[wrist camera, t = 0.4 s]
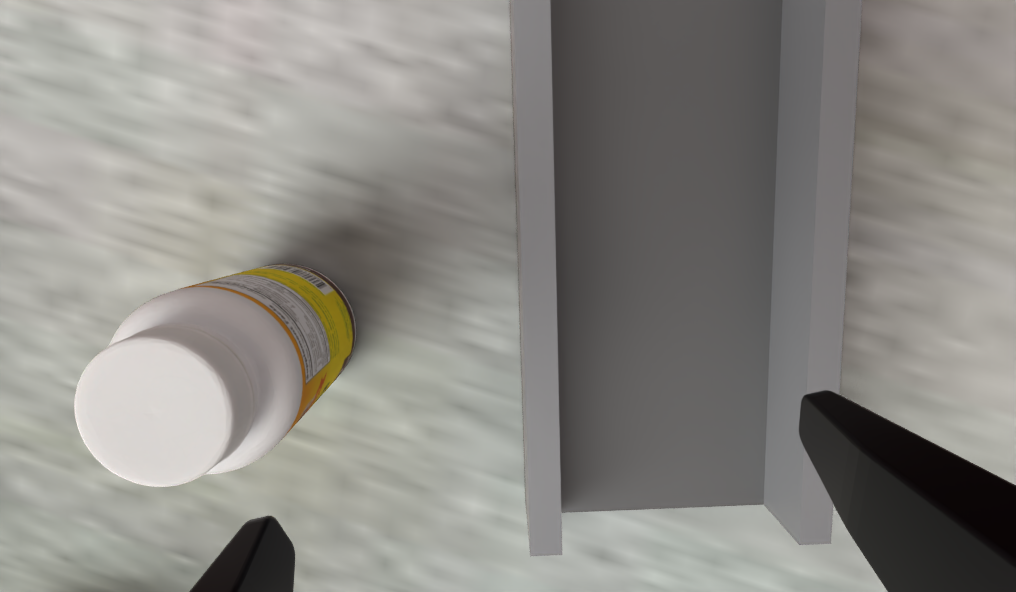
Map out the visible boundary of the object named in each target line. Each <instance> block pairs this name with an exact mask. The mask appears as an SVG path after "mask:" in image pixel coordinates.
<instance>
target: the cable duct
mask: <svg viewBox="0 0 1016 592" xmlns="http://www.w3.org/2000/svg"><path fill="white" fill-rule="evenodd" d="M861 14H862V0H510V31H511V63H512V94H513V126H514V157H515V189H516V220H517V252H518V283H519V315H520V346H521V378H522V410H523V441H524V473H525V503H526V514H527V525H528V535H529V546H530V556H545V555H562V521H561V513H565V512H589V511H614V510H638V509H663V508H687V507H712V506H736V505H761V504H764V505H765V507H766V508H767V509H768V510H769V511H770V512H771V513H772V514H773V516H774V517H775V518H776V519H777V520H778V521H779V522H780V524H781V525H782V526H783V527H784V528H785V529H786V530H787V531H788V533H789V534H790V535H791V536H792V537H793V538H794V539H795V540H796V542H797V543H798V544H799V545H809V544H831V532H832V515H833V502H832V500H831V498H830V496H829V495H828V493H827V491H826V489H825V487H824V485H823V483H822V481H821V479H820V477H819V475H818V473H817V471H816V469H815V468H814V466H813V464H812V462H811V460H810V458H809V456H808V454H807V452H806V450H805V448H804V446H803V444H802V442H801V439H800V436H799V419H800V408H801V400H802V398H803V396H804V395H806V394H810V393H814V392H819V391H823V390H829V391H832V392H835V393H837V394H840V377H841V360H842V342H843V325H844V308H845V291H846V273H847V256H848V239H849V222H850V204H851V187H852V170H853V153H854V135H855V118H856V101H857V83H858V66H859V49H860V32H861Z"/></svg>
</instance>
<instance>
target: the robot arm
mask: <svg viewBox="0 0 1016 592" xmlns="http://www.w3.org/2000/svg"><path fill="white" fill-rule="evenodd" d="M799 436H800V439H801V442H802V444H803V446H804V448H805V450H806V452H807V454H808V456H809V458H810V460H811V462H812V464H813V466H814V468H815V469H816V471H817V473H818V475H819V477H820V479H821V481H822V483H823V485H824V487H825V489H826V491H827V493H828V495H829V496H830V498H831V500H832V502H833V504H834V506H835V508H836V510H837V512H838V514H839V516H840V517H841V519H842V521H843V523H844V525H845V527H846V528H847V530H848V531H849V533H850V535H851V536H852V538H853V539H854V541H855V543H856V544H857V546H858V547H859V549H860V550H861V552H862V553H863V555H864V556H865V558H866V559H867V561H868V562H869V564H870V565H871V567H872V568H873V570H874V571H875V573H876V574H877V576H878V577H879V579H880V580H881V582H882V583H883V585H884V586H885V588H886V589H887V591H888V592H1016V485H1014V484H1012V483H1010V482H1008V481H1006V480H1004V479H1002V478H1000V477H998V476H997V475H995V474H993V473H991V472H989V471H987V470H985V469H983V468H981V467H979V466H977V465H975V464H973V463H971V462H969V461H967V460H965V459H963V458H961V457H959V456H958V455H956V454H954V453H952V452H950V451H948V450H946V449H944V448H942V447H940V446H938V445H936V444H934V443H932V442H930V441H928V440H926V439H924V438H922V437H920V436H919V435H917V434H915V433H913V432H911V431H909V430H907V429H905V428H903V427H901V426H899V425H897V424H895V423H893V422H891V421H889V420H887V419H885V418H883V417H881V416H880V415H878V414H876V413H874V412H872V411H870V410H868V409H866V408H864V407H862V406H860V405H858V404H856V403H854V402H852V401H850V400H848V399H846V398H844V397H842V396H841V395H839V394H837V393H835V392H832V391H829V390H823V391H819V392H814V393H810V394H806V395H804V396H803V398H802V400H801V408H800V419H799ZM294 569H295V551H294V547H293V544H292V542H291V541H290V539H289V538H288V536H287V535H286V533H285V531H284V530H283V528H282V527H281V525H280V524H279V522H278V521H277V520H276V518H274V517H272V516H265V517H261V518H256V519H252V520H249V521H247V522H246V523H245V524H244V525H243V526H242V527H241V529H240V530H239V531H238V532H237V534H236V535H235V536H234V537H233V539H232V540H231V541H230V542H229V543H228V545H227V546H226V547H225V548H224V550H223V551H222V552H221V553H220V555H219V556H218V557H217V558H216V559H215V561H214V562H213V563H212V564H211V566H210V567H209V568H208V569H207V571H206V572H205V573H204V574H203V576H202V577H201V578H200V579H199V580H198V582H197V583H196V584H195V585H194V587H193V588H192V589H191V590H190V592H293V586H294Z"/></svg>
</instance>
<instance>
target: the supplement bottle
mask: <svg viewBox="0 0 1016 592" xmlns="http://www.w3.org/2000/svg"><path fill="white" fill-rule="evenodd" d="M355 341H356V324H355V318H354V314H353V311H352V309H351V306H350V304H349V302H348V300H347V298H346V297H345V295H344V294H343V292H342V291H341V290H340V289H339V288H338V287H337V285H336V284H335V283H334V282H332V281H331V280H330V279H329V278H327V277H326V276H324V275H323V274H321V273H319V272H317V271H315V270H313V269H310V268H308V267H304V266H301V265H295V264H274V265H268V266H264V267H260V268H256V269H252V270H249V271H245V272H241V273H237V274H233V275H230V276H226V277H222V278H218V279H215V280H211V281H207V282H203V283H199V284H195V285H192V286H188V287H184V288H181V289H178V290H175V291H172V292H169V293H166V294H163V295H160V296H158V297H155V298H153V299H151V300H150V301H148V302H146V303H144V304H143V305H141V306H140V307H139V308H137V309H136V310H135V311H133V312H132V313H131V314H130V315H129V316H128V317H127V318H126V319H125V320H124V321H123V323H122V324H121V325H120V327H119V328H118V330H117V331H116V333H115V334H114V336H113V338H112V340H111V342H110V344H109V346H108V347H107V348H105V349H104V350H102V351H101V352H100V353H99V354H98V355H96V356H95V357H94V358H93V360H92V361H91V362H90V363H89V364H88V366H87V367H86V368H85V370H84V372H83V373H82V375H81V378H80V380H79V383H78V386H77V390H76V395H75V403H74V408H75V418H76V422H77V426H78V430H79V432H80V434H81V436H82V439H83V441H84V443H85V445H86V446H87V448H88V449H89V450H90V452H91V453H92V454H93V456H94V457H95V458H96V459H97V460H98V461H99V462H100V463H101V464H102V465H103V466H105V467H106V468H107V469H108V470H110V471H111V472H113V473H114V474H116V475H118V476H120V477H122V478H124V479H126V480H128V481H131V482H134V483H137V484H141V485H146V486H153V487H167V486H175V485H180V484H184V483H187V482H190V481H192V480H194V479H196V478H198V477H200V476H202V475H204V474H218V473H224V472H228V471H233V470H236V469H239V468H242V467H245V466H247V465H249V464H251V463H253V462H255V461H256V460H258V459H260V458H261V457H263V456H264V455H265V454H267V453H268V452H269V451H271V450H272V449H273V448H274V447H275V446H276V445H277V444H278V443H279V442H280V441H281V440H282V439H283V438H284V437H285V435H286V434H287V433H288V432H289V431H290V430H291V429H292V428H293V426H294V425H295V424H296V423H297V422H298V421H299V420H300V419H301V418H302V416H303V415H304V414H305V413H306V412H307V411H308V410H309V409H310V407H311V406H312V405H313V404H314V403H315V402H316V401H317V400H318V399H319V397H320V396H321V395H322V394H323V393H324V392H325V391H326V390H327V389H328V388H329V386H330V385H331V384H332V383H333V382H334V381H335V380H336V379H337V377H338V376H339V375H340V374H341V372H342V371H343V370H344V368H345V367H346V365H347V364H348V362H349V360H350V358H351V356H352V353H353V350H354V346H355Z"/></svg>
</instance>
